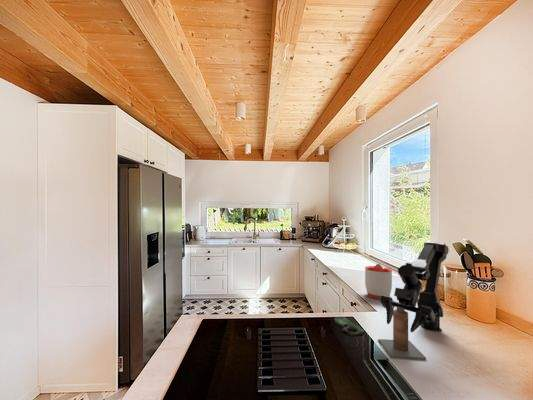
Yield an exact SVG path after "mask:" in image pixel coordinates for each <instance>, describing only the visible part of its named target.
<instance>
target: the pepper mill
mask: <svg viewBox="0 0 533 400" xmlns="http://www.w3.org/2000/svg"><path fill="white" fill-rule="evenodd" d="M392 328H393V329H392V330H393V331H392V333H393V334H392V335H393V336H392V337H393V338H392V340H393V347H394V348H396V349H397V350H401V351H408V341H409V312H408V311H407V310H405V309H404V308H402V307H396V309H393V316H392Z"/></svg>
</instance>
